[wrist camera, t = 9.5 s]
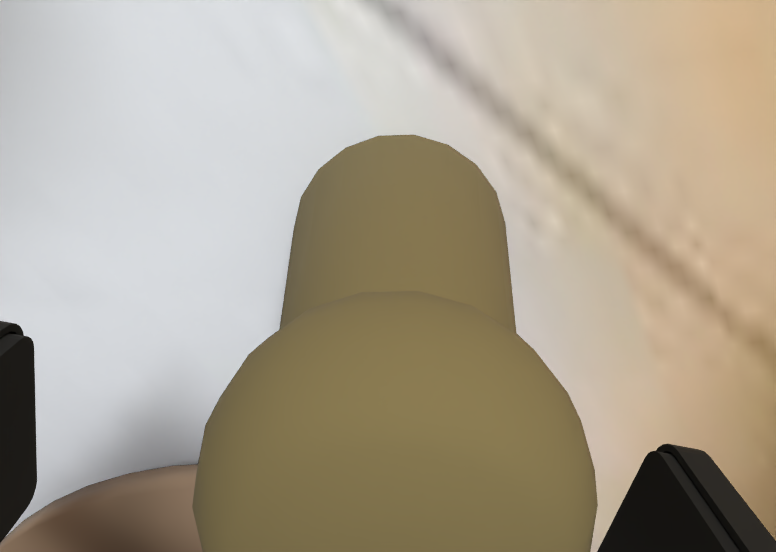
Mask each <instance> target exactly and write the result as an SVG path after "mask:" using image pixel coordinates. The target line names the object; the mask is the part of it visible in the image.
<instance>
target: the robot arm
mask: <svg viewBox="0 0 776 552" xmlns="http://www.w3.org/2000/svg"><path fill="white" fill-rule="evenodd" d="M36 484H37V464H36V418H35V373H34V345H33V341H32V339H31V338H29V337H27V336H24V335H23V331H22V329H21V327H20V326H19V325H17V324H14V323H8V322H3V321H0V543H1V542H2V540H3V539H4V538H5V536H6V535H7V534H8V532H9V531H10V530H11V528H12V527H13V526H14V524H15V523H16V522H17V520H18V519H19V518H20V516H21V515H22V514H23V512H24V511H25V510H26V508H27V507H28V505H29V504H30V502H31V500H32V498H33V495H34V492H35V489H36ZM597 552H776V541H775V540H774V538H773V537H772V536H771V534H770V533H769V532H768V531H767V529H766V528H765V527H764V525H763V524H762V523H761V522H760V520H759V519H758V518H757V516H756V515H755V514H754V513H753V511H752V510H751V509H750V507H749V506H748V505H747V504H746V502H745V501H744V500H743V498H742V497H741V496H740V495H739V493H738V492H737V491H736V489H735V488H734V487H733V486H732V484H731V483H730V482H729V480H728V479H727V478H726V477H725V475H724V474H723V473H722V472H721V470H720V469H719V468H718V466H717V465H716V464H715V463H714V461H713V460H712V459H711V457H710V456H709V455H708V454H707V453H705V452H704V451H701V450H698V449H693V448H687V447H682V446H676V445H671V444H664V445H662V446H660V447H659V448H658V449H657V450H656V451H652V452H650V453H648V454H647V456H646V457H645V459H644V461H643V463H642V465H641V467H640V469H639V471H638V473H637V475H636V477H635V479H634V481H633V483H632V484H631V486H630V488H629V490H628V492H627V494H626V496H625V498H624V500H623V502H622V504H621V506H620V508H619V510H618V512H617V514H616V516H615V518H614V520H613V522H612V524H611V526H610V528H609V530H608V532H607V534H606V536H605V538H604V540H603V542H602V544H601V545H600V547H599V549H598V551H597Z"/></svg>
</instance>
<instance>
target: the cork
mask: <svg viewBox="0 0 776 552" xmlns="http://www.w3.org/2000/svg"><path fill="white" fill-rule="evenodd" d="M192 508H193V513H194V517H195V521H196V525H197V530H198V534H199V538H200V542H201V547H202V551H203V552H590V549H591V543H592V537H593V530H594V524H595V518H596V511H597V493H596V481H595V470H594V466H593V463H592V459H591V455H590V452H589V448H588V444H587V441H586V437H585V434H584V430H583V426H582V423H581V420H580V418H579V416H578V414H577V412H576V409H575V407H574V405H573V403H572V401H571V399H570V397H569V395H568V393H567V391H566V390H565V389H564V387H563V386H562V385H561V384H560V382H559V381H558V380H557V379H556V377H555V376H554V375H553V373H552V372H551V371H550V370H549V368H548V367H547V366H546V364H545V363H544V362H543V361H542V359H541V358H540V357H539V355H538V354H537V353H536V352H535V350H534V349H533V348H531V347H530V346H529V345H528V344H527V343H526V342H525V341H524V340H523V339H522V338H521V337H520V336H519V335H518V334H516V326H515V316H514V306H513V296H512V286H511V276H510V266H509V256H508V246H507V236H506V226H505V221H504V217H503V214H502V211H501V207H500V204H499V200H498V197H497V193H496V191H495V190H494V188H493V187H492V186H491V184H490V183H489V182H488V180H487V179H486V177H485V176H484V175H483V173H482V172H481V170H480V169H479V168H478V166H477V165H476V164H475V163H473V162H472V161H470V160H469V159H467V158H466V157H465V156H463V155H462V154H460V153H459V152H458V151H456V150H455V149H453V148H452V147H450V146H449V145H447V144H443V143H440V142H437V141H433V140H430V139H426V138H423V137H420V136H416V135H392V136H377V137H374V138H371V139H369V140H366V141H363V142H360V143H358V144H355V145H352V146H349V147H347V148H345V149H344V150H342V151H341V152H340V153H339V154H337V155H336V156H335V157H333V158H332V159H331V160H330V161H328V162H327V163H326V164H325V165H323V166H322V167H321V168H320V169H319V170H318V171H317V173H316V174H315V176H314V178H313V179H312V181H311V182H310V184H309V185H308V187H307V189H306V190H305V192H304V193H303V195H302V197H301V200H300V204H299V209H298V213H297V217H296V222H295V226H294V231H293V238H292V245H291V252H290V259H289V266H288V273H287V280H286V287H285V294H284V301H283V308H282V315H281V322H280V329H279V331H277V332H276V333H274V334H273V335H272V336H270V337H269V338H268V339H266V340H265V341H264V342H263V343H262V344H261V345H259V346H258V347H257V348H256V349H255V350H254V351H253V352H251V353H250V354H249V355H248V357H247V358H246V360H245V361H244V363H243V364H242V366H241V367H240V368H239V370H238V371H237V373H236V374H235V376H234V377H233V379H232V380H231V382H230V383H229V385H228V386H227V388H226V389H225V391H224V392H223V394H222V395H221V397H220V398H219V400H218V402H217V404H216V406H215V408H214V410H213V412H212V414H211V416H210V418H209V420H208V421H207V423H206V425H205V431H204V436H203V441H202V446H201V452H200V457H199V462H198V467H197V472H196V480H195V488H194V496H193V504H192Z"/></svg>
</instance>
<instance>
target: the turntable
mask: <svg viewBox="0 0 776 552" xmlns="http://www.w3.org/2000/svg"><path fill="white" fill-rule="evenodd" d="M197 467H198V464H194V465H178V466H169V467H163V468H157V469H152V470H146V471H140V472H134V473H129V474H125V475H122V476H119V477H115V478H112V479H109V480H105V481H102V482H98V483H95V484H92V485H89V486H86V487H84V488H82V489H80V490H77V491H75V492H73V493H71V494H69V495H66V496H64V497H62V498H60V499H57V500H55V501H53V502H52V503H50V504H48V505H47V506H45V507H44V508H42V509H41V510H39V511H38V512H36V513H34V514H33V515H31V516H30V517H28V518H27V519H25V520H24V521H23V522H22V523H20V524H19V525H18V526H17V527H16V528H15V529H14V530H13V531H12V532H11V533H10V534H8V535H7V536H6V537H5V538H4V539H3V540H2V542H1V543H0V552H203V551H202V547H201V542H200V538H199V534H198V530H197V525H196V521H195V517H194V513H193V508H192V504H193V496H194V488H195V480H196V472H197Z"/></svg>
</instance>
